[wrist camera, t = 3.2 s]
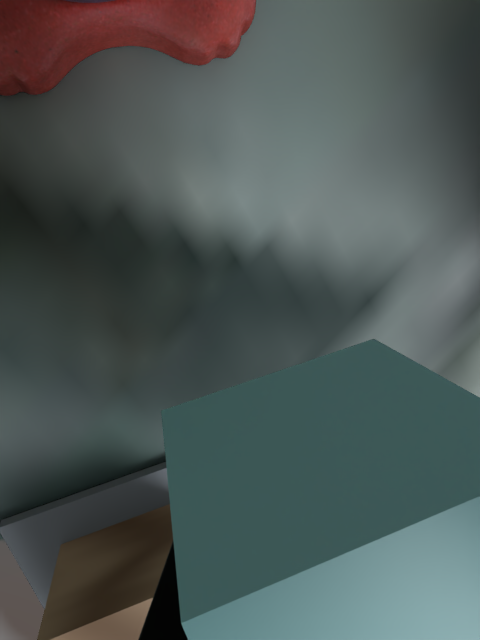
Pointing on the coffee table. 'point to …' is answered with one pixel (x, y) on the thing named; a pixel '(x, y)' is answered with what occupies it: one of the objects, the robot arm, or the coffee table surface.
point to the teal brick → (328, 503)
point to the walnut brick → (108, 580)
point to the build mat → (79, 521)
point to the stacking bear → (110, 34)
